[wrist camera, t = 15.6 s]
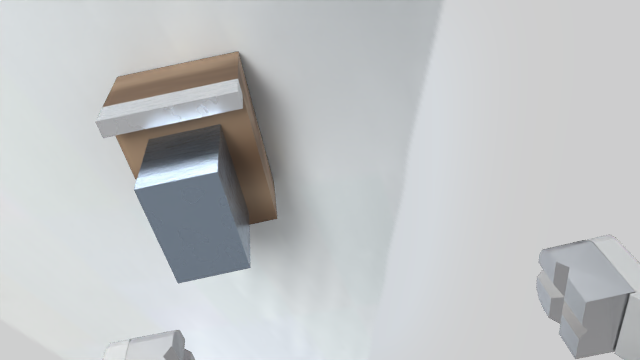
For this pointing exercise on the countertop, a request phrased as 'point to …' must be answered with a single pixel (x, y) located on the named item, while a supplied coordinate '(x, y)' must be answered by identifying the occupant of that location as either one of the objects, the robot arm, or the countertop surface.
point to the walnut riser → (193, 119)
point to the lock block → (195, 203)
